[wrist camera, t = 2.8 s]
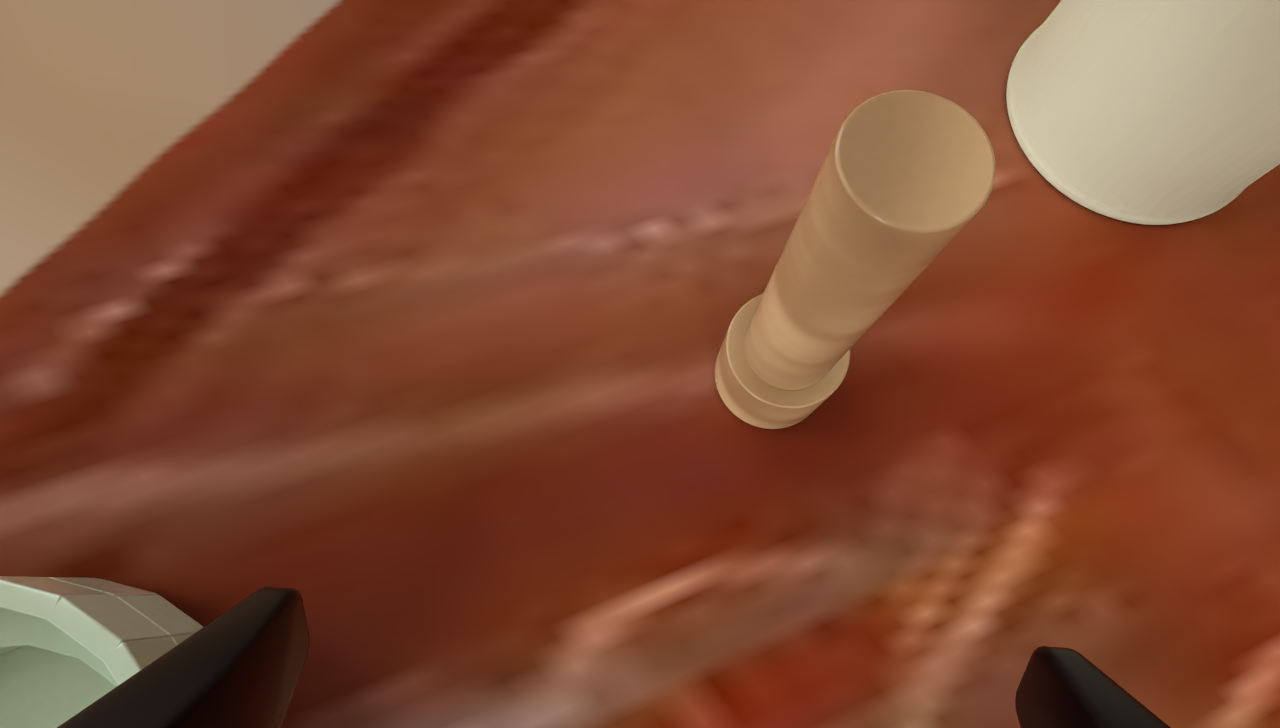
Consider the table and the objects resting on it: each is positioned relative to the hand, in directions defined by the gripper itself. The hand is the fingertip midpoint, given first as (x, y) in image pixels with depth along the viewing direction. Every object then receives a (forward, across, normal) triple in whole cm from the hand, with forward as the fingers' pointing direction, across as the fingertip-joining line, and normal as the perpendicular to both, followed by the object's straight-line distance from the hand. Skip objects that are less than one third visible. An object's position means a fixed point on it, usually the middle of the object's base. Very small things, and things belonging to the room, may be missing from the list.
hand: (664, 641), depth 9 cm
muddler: (+15, -4, +4) cm, 16 cm away
